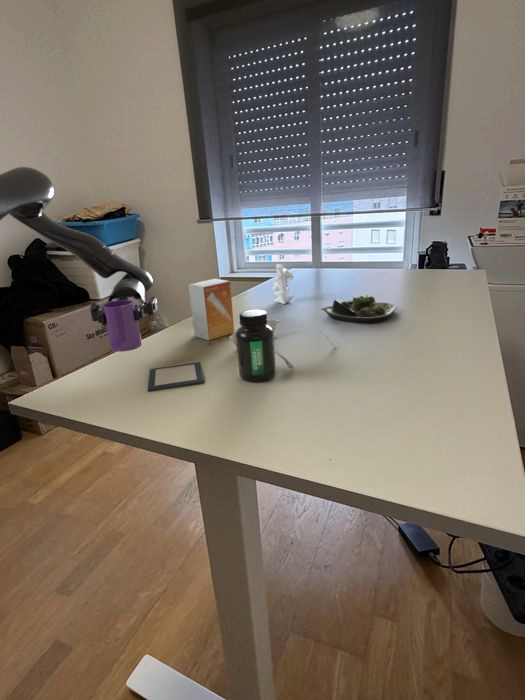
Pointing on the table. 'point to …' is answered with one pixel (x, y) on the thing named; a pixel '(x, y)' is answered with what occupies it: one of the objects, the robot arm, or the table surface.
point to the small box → (211, 308)
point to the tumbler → (122, 325)
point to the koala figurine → (282, 284)
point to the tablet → (175, 376)
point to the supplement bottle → (255, 347)
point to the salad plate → (360, 310)
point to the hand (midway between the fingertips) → (120, 317)
